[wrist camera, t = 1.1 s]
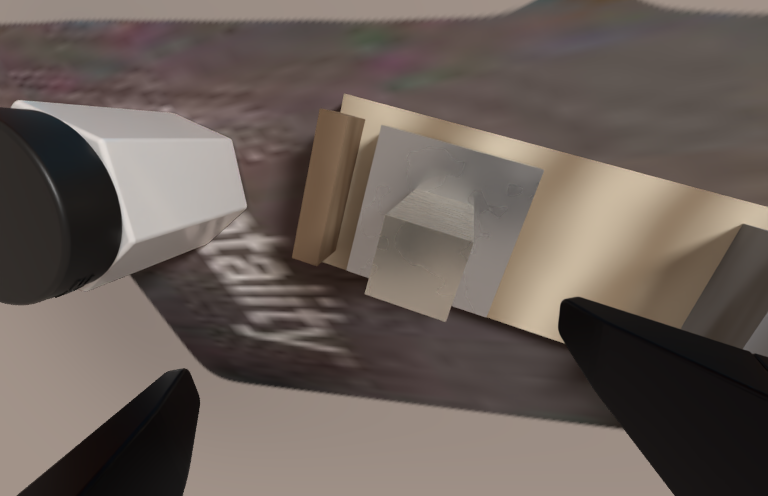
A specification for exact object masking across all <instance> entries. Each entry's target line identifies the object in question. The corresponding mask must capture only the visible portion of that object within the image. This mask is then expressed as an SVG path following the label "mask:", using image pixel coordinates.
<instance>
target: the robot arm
mask: <svg viewBox="0 0 768 496" xmlns="http://www.w3.org/2000/svg"><path fill="white" fill-rule="evenodd" d="M558 331H559V334H560V336H561V338H562V340H563V341H564V343H565V344H566V346H567V348H568V349H569V351H570V352H571V354H572V356H573V357H574V359H575V361H576V362H577V364H578V365H579V367H580V369H581V370H582V372H583V374H584V375H585V377H586V378H587V380H588V381H589V383H590V385H591V386H592V388H593V389H594V390H595V392H596V393H597V394H598V396H599V397H600V398H601V400H602V401H603V402H604V404H605V405H606V406H607V408H608V409H609V410H610V412H611V413H612V414H613V415H614V417H615V418H616V419H617V421H618V422H619V423H620V425H621V426H622V427H623V429H624V430H625V431H626V433H627V434H628V435H629V436H630V438H631V439H632V440H633V442H634V443H635V444H636V446H637V447H638V448H639V450H640V451H641V452H642V454H643V455H644V456H645V457H646V459H647V460H648V461H649V462H650V464H651V465H652V467H653V468H654V469H655V471H656V472H657V473H658V474H659V476H660V477H661V478H662V480H663V481H664V482H665V483H666V485H667V486H668V488H669V489H670V490H671V491H672V493H673V494H674V495H675V496H768V357H766V356H763V355H760V354H757V353H754V354H752V353H751V352H750V351H747V350H744V349H741V348H738V347H735V346H731V345H728V344H725V343H722V342H719V341H716V340H713V339H710V338H707V337H703V336H700V335H697V334H694V333H691V332H688V331H685V330H682V329H679V328H676V327H672V326H669V325H666V324H663V323H660V322H657V321H654V320H651V319H648V318H644V317H641V316H638V315H635V314H632V313H629V312H626V311H623V310H620V309H617V308H613V307H610V306H607V305H604V304H601V303H598V302H595V301H592V300H589V299H585V298H582V297H572V298H566V299H564V300H562V302H561V304H560V311H559V320H558ZM199 408H200V398H199V394H198V391H197V389H196V386H195V384H194V381H193V379H192V376H191V374H190V372H189V371H188V370H187V369H185V368H183V369H177V370H172V371H168V372H166V373H164V374H163V375H162V376H161V377H160V378H158V379H157V380H156V381H155V382H154V383H152V384H151V385H150V386H149V387H148V388H146V389H145V390H144V391H143V392H141V393H140V394H139V395H138V396H137V397H136V398H134V399H133V400H132V401H131V402H129V403H128V404H127V405H126V406H125V407H123V408H122V409H121V410H120V411H119V412H117V413H116V414H115V415H114V416H112V417H111V418H110V419H109V420H108V421H106V422H105V423H104V424H103V425H101V426H100V427H99V428H98V429H97V430H95V431H94V432H93V433H92V434H91V435H89V436H88V437H87V438H86V439H84V440H83V441H82V442H81V443H80V444H78V445H77V446H76V447H75V448H74V449H72V450H71V451H70V452H69V453H68V454H66V455H65V456H64V457H63V458H62V459H60V460H59V461H58V462H57V463H55V464H54V465H53V466H52V467H51V468H49V469H48V470H47V471H46V472H45V473H43V474H42V475H41V476H40V477H38V478H37V479H36V480H35V481H34V482H32V483H31V484H30V485H29V486H28V487H26V488H25V489H24V490H23V491H21V492H20V493H19V494H18V495H17V496H183V492H184V489H185V485H186V481H187V477H188V473H189V468H190V463H191V457H192V451H193V445H194V439H195V432H196V426H197V420H198V414H199Z"/></svg>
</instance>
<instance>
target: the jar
mask: <svg viewBox="0 0 768 496" xmlns="http://www.w3.org/2000/svg"><path fill="white" fill-rule="evenodd" d="M246 208H247V203H246V199H245V195H244V190H243V186H242V182H241V177H240V173H239V169H238V164H237V160H236V156H235V151H234V147H233V142H232V140H231V139H230V138H228V137H226V136H224V135H221V134H219V133H217V132H215V131H212V130H210V129H208V128H206V127H203V126H201V125H199V124H197V123H195V122H192V121H190V120H188V119H186V118H183V117H181V116H179V115H177V114H175V113H168V112H156V111H144V110H132V109H120V108H108V107H96V106H84V105H72V104H60V103H48V102H36V101H24V100H17V101H15V102H14V103H13V105H12V106H11V108H2V107H0V302H2V303H5V304H11V305H29V304H35V303H38V302H41V301H44V300H46V299H50V298H53V297H55V298H57V297H59V296H62V295H64V294H67V293H70V292H72V291H75V290H77V289H79V290H81V291H84V292H86V291H90V290H92V289H95V288H97V287H100V286H102V285H105V284H107V283H110V282H112V281H115V280H117V279H120V278H123V277H125V276H127V275H130V274H133V273H135V272H138V271H140V270H143V269H145V268H148V267H150V266H153V265H155V264H158V263H160V262H163V261H165V260H168V259H170V258H173V257H175V256H178V255H180V254H183V253H185V252H188V251H191V250H193V249H196V248H198V247H201V246H203V245H206V244H208V243H209V242H210V241H211V240H212V239H213V238H214V237H216V236H217V235H218V234H219V233H220V232H221V231H222V230H223V229H224V228H225V227H227V226H228V225H229V224H230V223H231V222H232V221H233V220H234V219H235V218H237V217H238V216H239V215H240V214H241V213H242V212H243V211H244V210H246Z"/></svg>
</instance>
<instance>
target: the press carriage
mask: <svg viewBox="0 0 768 496" xmlns="http://www.w3.org/2000/svg"><path fill="white" fill-rule="evenodd" d="M543 172H544V170H543V169H541V168H539V167H536V166H532V165H529V164H525V163H521V162H518V161H514V160H511V159H507V158H503V157H500V156H496V155H492V154H489V153H485V152H482V151H478V150H474V149H471V148H467V147H463V146H460V145H456V144H453V143H449V142H445V141H442V140H438V139H434V138H431V137H427V136H424V135H420V134H416V133H413V132H409V131H405V130H402V129H398V128H395V127H391V126H385V125H381V129H380V133H379V137H378V141H377V146H376V150H375V154H374V158H373V162H372V166H371V170H370V175H369V179H368V183H367V187H366V191H365V195H364V199H363V203H362V208H361V212H360V216H359V220H358V224H357V228H356V232H355V237H354V241H353V245H352V249H351V253H350V257H349V261H348V266H347V270H346V271H349V272H352V273H355V274H358V275H361V276H364V277H367V278H369V279H368V283H367V287H366V290H365V294H366V295H369V296H371V297H374V298H377V299H380V300H383V301H386V302H389V303H392V304H395V305H398V306H401V307H403V308H406V309H409V310H412V311H415V312H418V313H421V314H424V315H427V316H430V317H433V318H436V319H438V320H441V321H444V322H446V320H447V317H448V314H449V312H450V309H451V306H453V307H456V308H459V309H462V310H465V311H468V312H471V313H474V314H477V315H480V316H483V317H487V315H488V312H489V310H490V307H491V305H492V302H493V299H494V297H495V294H496V292H497V289H498V287H499V284H500V282H501V279H502V277H503V274H504V271H505V269H506V266H507V264H508V261H509V259H510V256H511V254H512V251H513V249H514V246H515V244H516V241H517V238H518V236H519V233H520V231H521V228H522V226H523V223H524V221H525V218H526V216H527V213H528V210H529V208H530V205H531V203H532V200H533V198H534V195H535V193H536V190H537V188H538V185H539V182H540V180H541V177H542V175H543Z"/></svg>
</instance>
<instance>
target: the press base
mask: <svg viewBox="0 0 768 496" xmlns="http://www.w3.org/2000/svg"><path fill="white" fill-rule="evenodd" d="M381 125H385V126H391V127H395V128H398V129H402V130H405V131H409V132H413V133H416V134H420V135H424V136H427V137H431V138H434V139H438V140H442V141H445V142H449V143H453V144H456V145H460V146H463V147H467V148H471V149H474V150H478V151H482V152H485V153H489V154H492V155H496V156H500V157H503V158H507V159H511V160H514V161H518V162H521V163H525V164H529V165H532V166H536V167H539V168H541V169H543V170H544V172H543V175H542V177H541V180H540V182H539V185H538V188H537V190H536V193H535V195H534V198H533V200H532V203H531V205H530V208H529V210H528V213H527V216H526V218H525V221H524V223H523V226H522V228H521V231H520V233H519V236H518V238H517V241H516V244H515V246H514V249H513V251H512V254H511V256H510V259H509V261H508V264H507V266H506V269H505V271H504V274H503V277H502V279H501V282H500V284H499V287H498V289H497V292H496V294H495V297H494V299H493V302H492V305H491V307H490V310H489V312H488V315H487V318H490V319H493V320H496V321H499V322H502V323H505V324H508V325H511V326H514V327H517V328H520V329H523V330H526V331H529V332H532V333H535V334H538V335H541V336H544V337H547V338H550V339H553V340H556V341H559V342H562V343H564V341H563V340H562V338H561V336H560V334H559V331H558V320H559V311H560V304H561V302H562V300H564V299H566V298H572V297H582V298H585V299H589V300H592V301H595V302H598V303H601V304H604V305H607V306H610V307H613V308H617V309H620V310H623V311H626V312H629V313H632V314H635V315H638V316H641V317H644V318H648V319H651V320H654V321H657V322H660V323H663V324H666V325H669V326H672V327H676V328H679V329H682V330H685V331H688V332H691V333H694V334H697V335H700V336H703V337H707V338H710V339H713V340H716V341H719V342H722V343H725V344H728V345H731V346H735V347H738V348H741V349H744V350H747V351H750V352H751V353H752V354H754V353H757V354H760V355H763V356H766V357H768V207H765V206H761V205H757V204H754V203H750V202H746V201H743V200H739V199H735V198H731V197H728V196H724V195H720V194H716V193H713V192H709V191H705V190H702V189H698V188H694V187H690V186H687V185H683V184H679V183H675V182H672V181H668V180H664V179H660V178H657V177H653V176H649V175H646V174H642V173H638V172H634V171H631V170H627V169H623V168H619V167H616V166H612V165H608V164H605V163H601V162H597V161H593V160H590V159H586V158H582V157H578V156H575V155H571V154H567V153H564V152H560V151H556V150H552V149H549V148H545V147H541V146H537V145H534V144H530V143H526V142H523V141H519V140H515V139H511V138H508V137H504V136H500V135H496V134H493V133H489V132H485V131H481V130H478V129H474V128H470V127H467V126H463V125H459V124H455V123H452V122H448V121H444V120H440V119H437V118H433V117H429V116H426V115H422V114H418V113H414V112H411V111H407V110H403V109H399V108H396V107H392V106H388V105H385V104H381V103H377V102H373V101H370V100H366V99H362V98H358V97H355V96H351V95H347V94H344V97H343V102H342V107H341V112H336V111H331V110H325V109H320V110H319V116H318V121H317V126H316V132H315V137H314V142H313V148H312V153H311V158H310V164H309V169H308V174H307V180H306V185H305V190H304V196H303V201H302V206H301V212H300V217H299V222H298V228H297V233H296V239H295V244H294V249H293V255H292V258H294V259H297V260H300V261H303V262H306V263H309V264H312V265H315V266H318V265H319V264H320V263H321V262H324V263H327V264H330V265H333V266H336V267H339V268H342V269H345V270H347V266H348V261H349V257H350V253H351V249H352V245H353V241H354V237H355V232H356V228H357V224H358V220H359V216H360V212H361V208H362V203H363V199H364V195H365V191H366V187H367V183H368V179H369V175H370V170H371V166H372V162H373V158H374V154H375V150H376V146H377V141H378V137H379V133H380V129H381Z"/></svg>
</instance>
